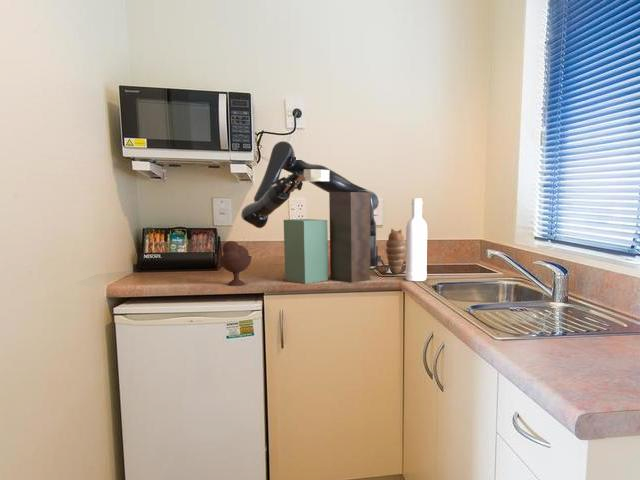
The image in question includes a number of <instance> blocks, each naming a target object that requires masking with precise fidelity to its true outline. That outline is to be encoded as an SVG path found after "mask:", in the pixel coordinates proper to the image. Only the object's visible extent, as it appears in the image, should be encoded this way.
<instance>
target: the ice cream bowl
mask: <svg viewBox="0 0 640 480" xmlns="http://www.w3.org/2000/svg"><path fill="white" fill-rule="evenodd" d="M221 249H222V250H221V251H222V256H219V257H218V261H219V264H220V266H221V267H222V268H223V269H224V270H226V271H228V272H230V273H232V274H233V279H231V280H230V281H229V282H228V286H232V287H233V286H235V287H236V286H244V285H245V284H246V283H245V281H243V280H242V279H240V273H241V272H244V271H246V270H247V268H248V267H249V266H250V265H251V263H252V255H250V253H249V250H248V249H247V248H246V247H245V246H243V245H241V244H239V243H238V242H237V241H234V240H228V241H226V242H224V243H223V244H222V248H221Z"/></svg>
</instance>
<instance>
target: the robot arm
mask: <svg viewBox="0 0 640 480" xmlns="http://www.w3.org/2000/svg"><path fill="white" fill-rule="evenodd" d="M295 155H296V154H295V150H294V148H293V146H292V144H291V143H290V142H288V141H284V140H283V141H278V142H276V143H275V144H274V146H273V147H272V149H271V153H270V157H269V161H268V163H267V167H266V169H265V172H264V175H263V177H262V180H261V182H260V184H259V186H258V188H257V190H256V192H255V195H254V197H253V201H254V202H252V203H249V204H247V205H246V206H244V208H242V210H241V213H240V215H241V218H242V220H243V221H244V222H246V223H248V224H250V225H252V226H253V227H255V228H256V229H262V228H264V227H265V226H266V225H267V223H268V221H269V216H270V215H271V214H273V212H275V210H277V209H278V208H280V207H281V206H282V205H283V204H284V203H285V202H287V201H288V200H289V198H290V196H291V194H292V193H293V192H294V191H295V190H297V191H301V190H302V189H303V184H304V182H293V181H294V180H295V179H297V178H298V175H304V170H305V169H319V170H329V171H330V178H329V182H313V181H307V182H308V183H310V184H311V185H313V186H315V187H317V188H319V189H321V190H322V191H324V192H326V193H329V192H365V193H370V270H375V269H377V268H379V267H378V266H379V263H381V265H382V266H383V267H390V266H389V264H385V263H384V260H383V259H382V256H381V255H379V254H378V252H379V247H378V245H377V222H376V220H375V216H374V215H375V213H374V211H375V210H377V208H378V207H379V203H380V201H379V197H378V195H377V194H376V193H375V192H373V191H372V190H370V189H367V188H364V187H362V186H359V185H357V184H355V183H353V182H351V181H350V180H348V178H346V177H344V176H342V175H341V174H339V173H337V172H336V171H334V170H332V169H331V168H328V167H327V166H325V165H322V164H317V163H316V164H315V163H310V162H309V163H308V162H306V161H304V160H303V159H301V160H296V157H295ZM283 169H284V170H283ZM282 170H283V171H285V170H286V172H288V173H290V175H291V176H288V175H287V176H286V177H285V176H283V177H281V178H280V176H281V173H282ZM404 264H406V260H405V261H403V265H404Z"/></svg>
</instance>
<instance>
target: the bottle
mask: <svg viewBox="0 0 640 480" xmlns="http://www.w3.org/2000/svg"><path fill="white" fill-rule="evenodd" d="M405 241H406V252H405V261H406V263H405V270H404V271H405V273H404V274H405V275H404V276H405V280H406V281H407V282H408V281H409V282H424V281H426V280H427V276H428V275H427V273H428V271H427V265H428V264H427V259H428V258H427V257H428V256H427V255H428V224H427V222H426V220H424V219H423V199H422V198H412V199H411V218H410V219H409V220H408V221H407V223H406V227H405Z"/></svg>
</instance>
